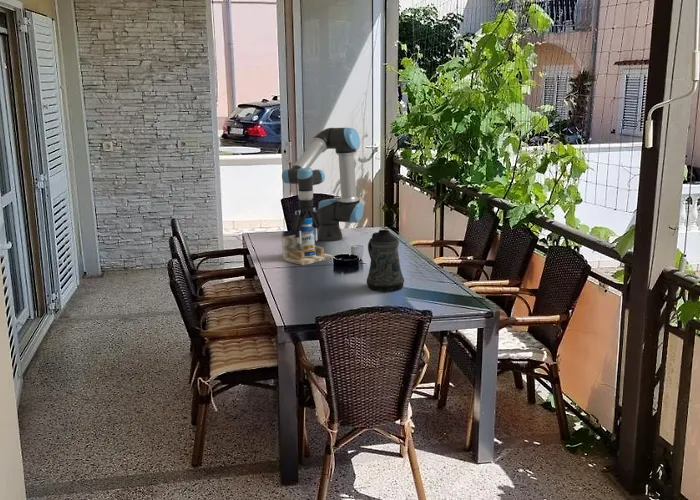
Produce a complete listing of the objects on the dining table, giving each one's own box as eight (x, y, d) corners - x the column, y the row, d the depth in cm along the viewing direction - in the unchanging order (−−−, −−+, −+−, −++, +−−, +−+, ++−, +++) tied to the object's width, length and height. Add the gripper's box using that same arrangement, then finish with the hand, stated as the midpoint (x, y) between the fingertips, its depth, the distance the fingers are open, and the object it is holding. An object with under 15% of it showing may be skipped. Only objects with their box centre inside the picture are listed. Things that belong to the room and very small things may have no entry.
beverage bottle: (319, 254, 356) (316, 216, 352) (311, 258, 349) (308, 219, 345) (304, 253, 360) (302, 216, 356) (296, 257, 352) (294, 218, 348)
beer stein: (392, 294, 290) (392, 236, 285) (354, 288, 300) (352, 232, 295) (410, 284, 304) (410, 229, 298) (372, 279, 314) (372, 225, 308)
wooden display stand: (312, 253, 367) (312, 231, 364) (332, 258, 355) (332, 235, 353) (283, 260, 354) (282, 237, 351) (302, 265, 342) (301, 241, 340)
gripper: (317, 195, 358) (319, 237, 363) (283, 200, 343) (285, 244, 348) (327, 197, 352) (328, 239, 357) (292, 202, 337) (294, 246, 342)
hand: (307, 241), depth 353 cm, fingers open, 10 cm apart
